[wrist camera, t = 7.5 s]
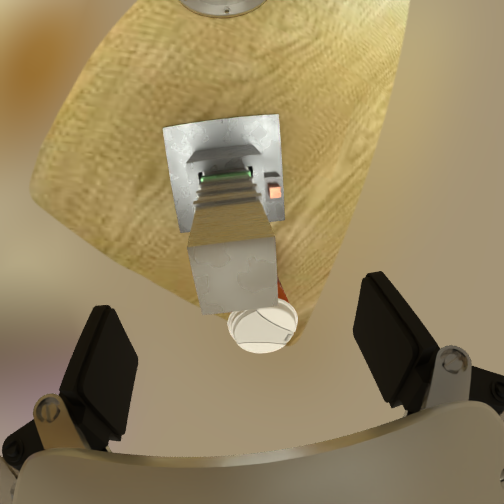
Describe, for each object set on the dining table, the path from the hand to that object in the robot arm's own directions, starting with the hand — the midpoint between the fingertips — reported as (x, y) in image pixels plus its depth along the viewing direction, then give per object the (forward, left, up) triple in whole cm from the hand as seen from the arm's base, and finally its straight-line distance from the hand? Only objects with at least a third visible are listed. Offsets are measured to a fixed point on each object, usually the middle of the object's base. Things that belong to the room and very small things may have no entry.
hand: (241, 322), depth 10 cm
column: (+1, 0, -22) cm, 22 cm away
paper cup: (+15, +2, -28) cm, 32 cm away
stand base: (+1, 0, -28) cm, 28 cm away
